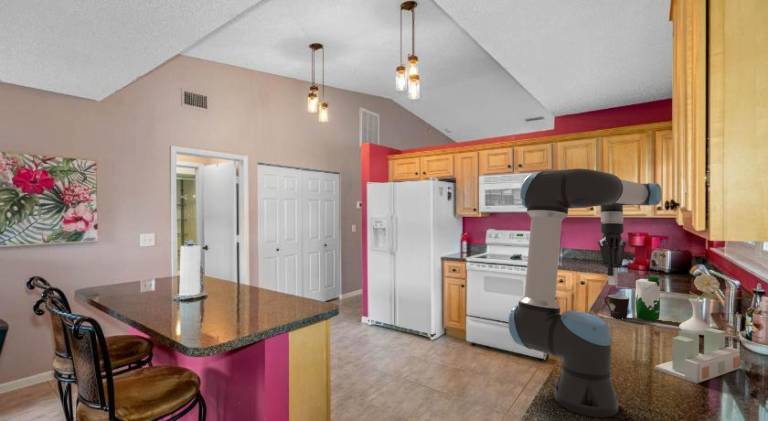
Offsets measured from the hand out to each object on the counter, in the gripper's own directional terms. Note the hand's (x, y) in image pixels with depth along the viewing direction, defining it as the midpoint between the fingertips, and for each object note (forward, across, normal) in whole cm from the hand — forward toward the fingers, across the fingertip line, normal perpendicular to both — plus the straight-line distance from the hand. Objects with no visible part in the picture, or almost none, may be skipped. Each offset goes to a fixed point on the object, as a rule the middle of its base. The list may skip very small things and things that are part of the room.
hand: (613, 284), depth 145 cm
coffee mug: (+18, -38, -26) cm, 49 cm away
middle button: (+23, -7, +21) cm, 32 cm away
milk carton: (+18, -48, -19) cm, 54 cm away
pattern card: (+25, -7, +30) cm, 39 cm away
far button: (+22, -16, +24) cm, 36 cm away
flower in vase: (+20, -46, +3) cm, 50 cm away
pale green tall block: (+24, +2, +25) cm, 35 cm away
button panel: (+24, -7, +24) cm, 35 cm away
